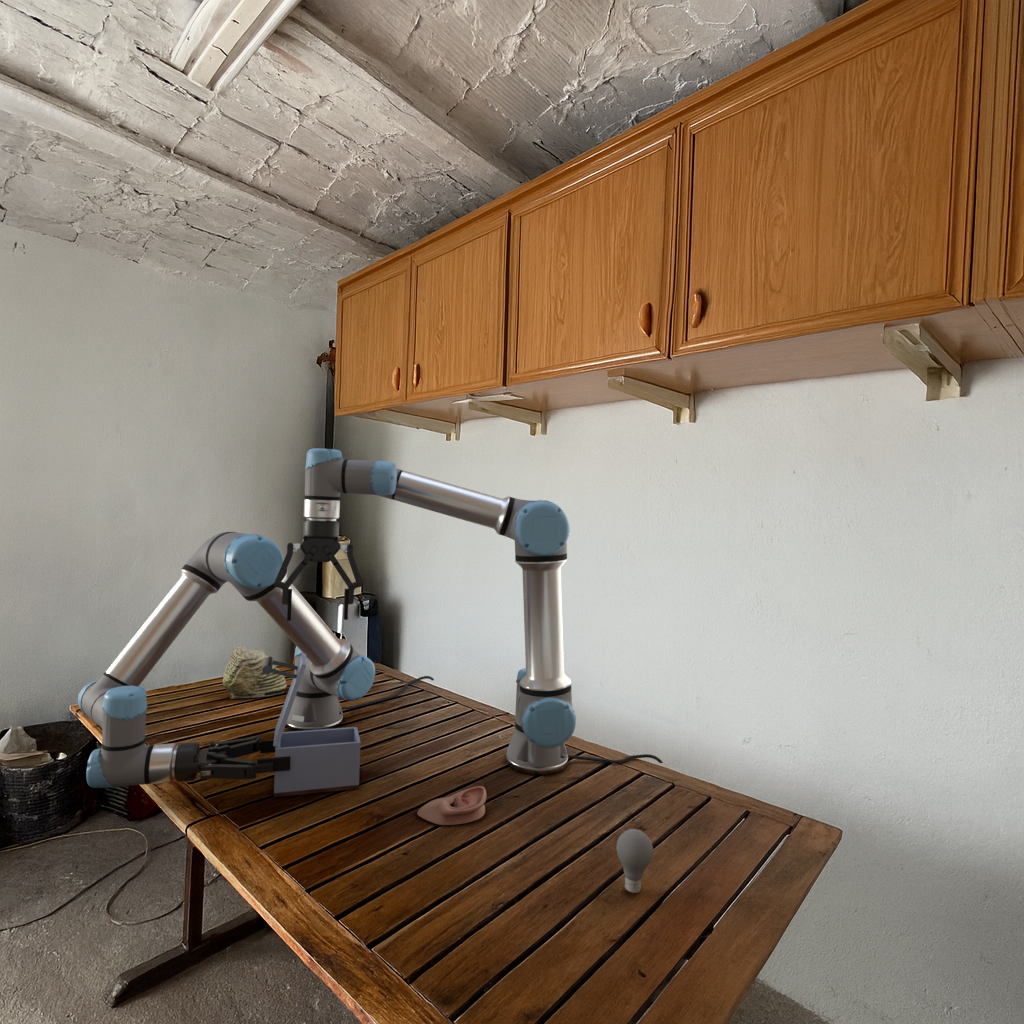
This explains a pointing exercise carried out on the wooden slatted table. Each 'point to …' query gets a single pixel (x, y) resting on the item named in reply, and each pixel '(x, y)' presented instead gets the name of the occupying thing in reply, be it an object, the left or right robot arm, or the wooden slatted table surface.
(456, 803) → the anatomical model
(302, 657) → the lid
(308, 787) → the chest
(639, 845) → the light bulb
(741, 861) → the wooden slatted table surface
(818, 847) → the wooden slatted table surface
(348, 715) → the wooden slatted table surface
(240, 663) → the fossil
